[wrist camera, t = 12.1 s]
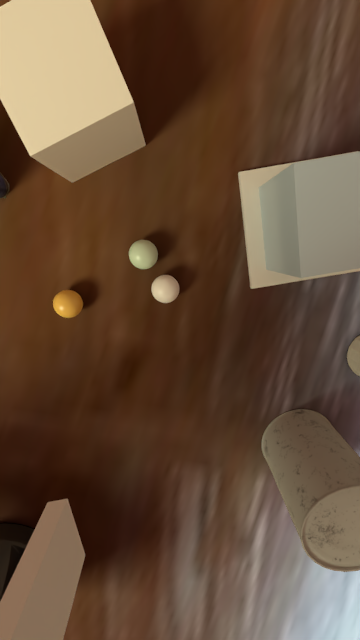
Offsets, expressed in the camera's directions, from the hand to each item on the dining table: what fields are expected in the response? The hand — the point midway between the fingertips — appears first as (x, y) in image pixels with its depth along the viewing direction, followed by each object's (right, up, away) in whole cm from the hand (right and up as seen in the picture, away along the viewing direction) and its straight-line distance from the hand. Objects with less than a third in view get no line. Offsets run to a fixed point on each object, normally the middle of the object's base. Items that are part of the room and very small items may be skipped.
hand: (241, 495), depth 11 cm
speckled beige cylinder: (+13, -9, +27) cm, 31 cm away
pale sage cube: (+10, +17, +20) cm, 28 cm away
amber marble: (-16, +8, +21) cm, 27 cm away
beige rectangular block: (-11, +26, +17) cm, 33 cm away
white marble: (-4, +11, +21) cm, 24 cm away
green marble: (-6, +14, +21) cm, 26 cm away
